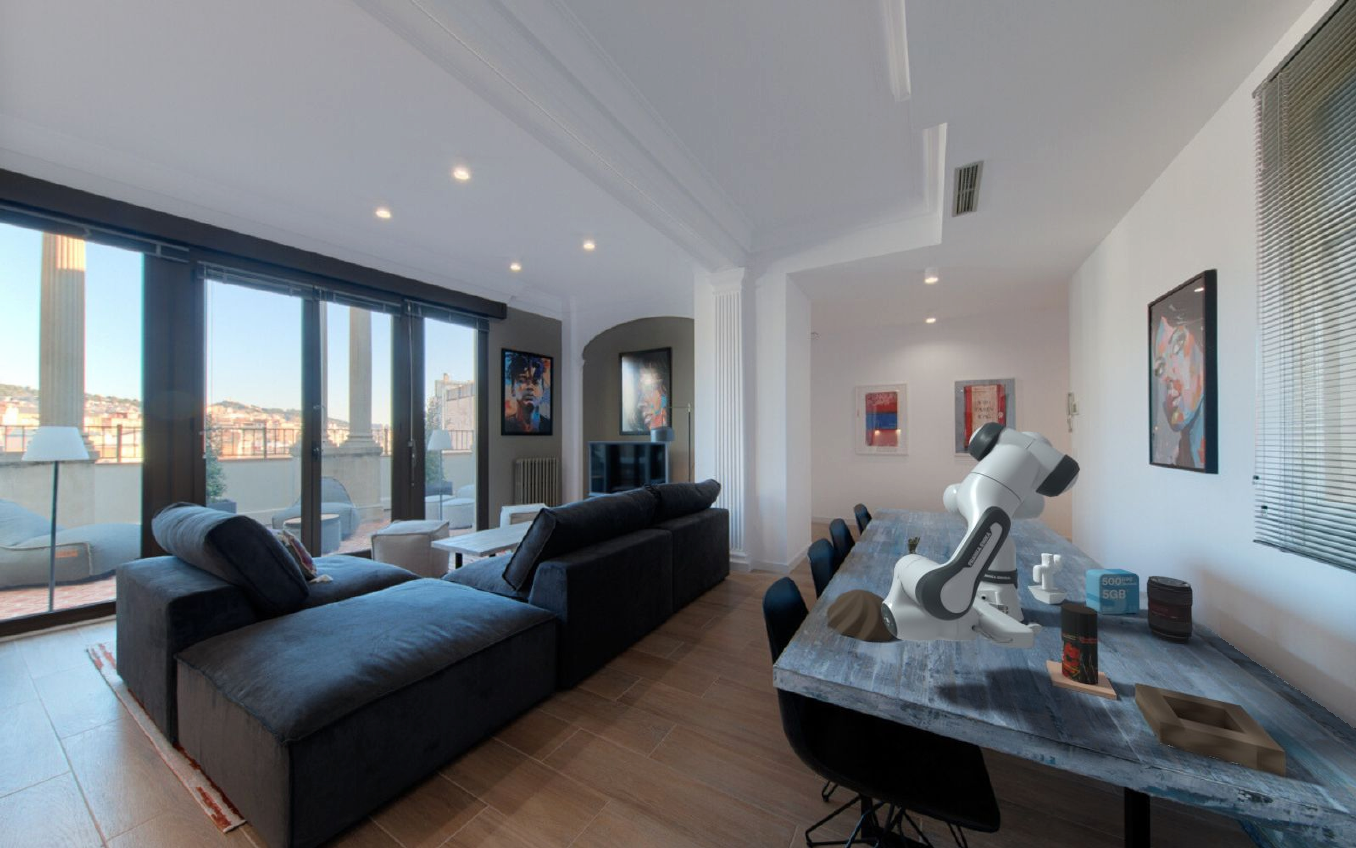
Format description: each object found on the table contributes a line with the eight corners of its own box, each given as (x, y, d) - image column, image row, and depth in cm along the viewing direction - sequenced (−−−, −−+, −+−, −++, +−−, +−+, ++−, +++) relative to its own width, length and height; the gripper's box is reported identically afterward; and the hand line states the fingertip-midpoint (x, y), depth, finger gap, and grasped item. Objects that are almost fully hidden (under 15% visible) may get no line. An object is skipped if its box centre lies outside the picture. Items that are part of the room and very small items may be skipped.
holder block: (1160, 744, 79) (1160, 721, 79) (1135, 702, 91) (1135, 682, 91) (1285, 777, 71) (1285, 752, 71) (1240, 727, 83) (1240, 705, 83)
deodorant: (1105, 686, 95) (1104, 615, 95) (1073, 683, 96) (1072, 613, 96) (1085, 671, 100) (1084, 604, 100) (1055, 668, 102) (1054, 602, 102)
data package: (1099, 614, 132) (1099, 574, 132) (1085, 608, 136) (1085, 569, 136) (1140, 614, 132) (1139, 573, 132) (1124, 608, 136) (1124, 568, 136)
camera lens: (1150, 639, 117) (1149, 581, 117) (1145, 628, 123) (1144, 573, 123) (1197, 648, 112) (1195, 588, 112) (1189, 636, 118) (1188, 579, 118)
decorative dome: (840, 606, 141) (839, 574, 141) (909, 624, 128) (909, 589, 128) (814, 627, 126) (813, 592, 126) (889, 650, 113) (889, 610, 113)
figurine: (1024, 597, 145) (1024, 551, 145) (1049, 595, 147) (1048, 549, 147) (1046, 606, 138) (1046, 558, 138) (1072, 604, 140) (1071, 556, 140)
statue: (897, 596, 148) (896, 535, 148) (916, 595, 148) (915, 535, 148) (905, 601, 143) (904, 539, 143) (924, 601, 143) (923, 538, 143)
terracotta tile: (1053, 685, 97) (1053, 680, 97) (1046, 664, 105) (1046, 660, 105) (1116, 700, 91) (1116, 695, 91) (1103, 676, 100) (1103, 672, 100)
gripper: (992, 626, 88) (1062, 625, 88) (933, 587, 109) (990, 586, 109) (992, 658, 88) (1062, 657, 88) (933, 613, 109) (990, 612, 109)
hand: (1021, 618), depth 99 cm, fingers open, 8 cm apart
